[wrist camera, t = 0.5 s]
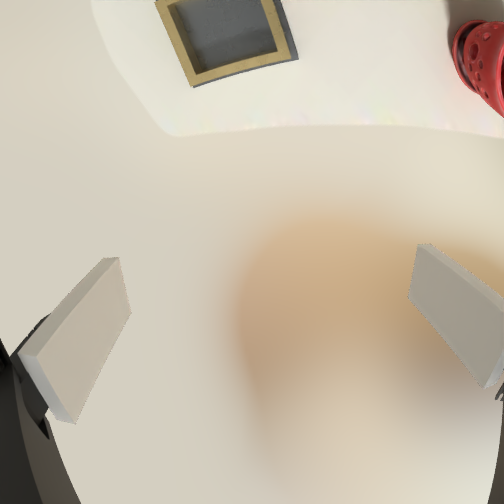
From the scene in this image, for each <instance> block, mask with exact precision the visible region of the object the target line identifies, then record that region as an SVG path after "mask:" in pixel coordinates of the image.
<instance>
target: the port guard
mask: <svg viewBox="0 0 504 504" xmlns="http://www.w3.org/2000/svg"><path fill="white" fill-rule="evenodd" d="M154 3H155V5H156V8H157V10H158V12H159V14H160V17H161V19H162V21H163V24H164V26H165V28H166V31H167V33H168V35H169V38H170V40H171V42H172V45H173V47H174V49H175V52H176V54H177V56H178V59H179V61H180V63H181V66H182V68H183V70H184V73H185V75H186V77H187V80H188V82H189V84H190V87H191V86H193V88H195V87H198V86H201V85H204V84H207V83H210V82H213V81H216V80H219V79H222V78H226V77H229V76H232V75H236V74H239V73H243V72H247V71H250V70H254V69H258V68H262V67H266V66H271V65H275V64H279V63H284V62H289V61H294V60H299V58H298V55H297V52H296V48H295V45H294V42H293V38H292V35H291V32H290V29H289V26H288V23H287V20H286V17H285V14H284V11H283V8H282V5H281V2H280V0H156V2H154Z"/></svg>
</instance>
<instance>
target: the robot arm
mask: <svg viewBox="0 0 504 504" xmlns="http://www.w3.org/2000/svg"><path fill="white" fill-rule="evenodd" d="M408 299H409V300H410V301H411V302H412V303H413V304H414V305H415V306H416V308H417V309H418V310H419V311H420V312H421V313H422V314H423V315H424V317H425V318H426V319H427V320H428V321H429V322H430V324H431V325H432V326H433V327H434V328H435V330H436V331H437V332H438V333H439V334H440V335H441V337H442V338H443V339H444V340H445V342H446V343H447V344H448V345H449V346H450V348H451V349H452V350H453V351H454V353H455V354H456V355H457V356H458V357H459V359H460V360H461V361H462V362H463V364H464V365H465V367H466V368H467V369H468V370H469V372H470V373H471V374H472V376H473V377H474V378H475V380H476V381H477V382H478V384H479V385H480V386H481V388H482V389H485V388H487V387H490V386H492V385H494V384H496V383H497V381H498V379H499V378H500V376H501V374H502V372H503V370H504V298H503V297H502V296H500V295H499V294H498V293H497V292H495V291H494V290H493V289H492V288H490V287H489V286H488V285H487V284H485V283H484V282H483V281H481V280H480V279H479V278H477V277H476V276H475V275H473V274H472V273H471V272H469V271H468V270H467V269H465V268H464V267H463V266H461V265H460V264H459V263H457V262H456V261H454V260H453V259H452V258H450V257H449V256H447V255H446V254H445V253H443V252H442V251H440V250H439V249H437V248H436V247H434V246H433V245H431V244H418V245H417V252H416V258H415V264H414V269H413V275H412V280H411V285H410V290H409V294H408ZM130 314H131V309H130V305H129V302H128V298H127V293H126V289H125V284H124V280H123V275H122V271H121V266H120V261H119V258H118V257H116V258H115V257H114V258H103V259H102V260H101V261H100V262H99V263H98V264H97V265H96V266H95V267H94V268H93V269H92V270H91V271H90V272H89V273H88V274H87V275H86V276H85V277H84V278H83V279H82V280H81V281H80V282H79V283H78V284H77V285H76V287H75V288H74V289H73V290H72V291H71V292H70V293H69V294H68V295H67V296H66V297H65V298H64V299H63V301H62V302H61V303H60V304H59V305H58V306H57V307H56V308H55V309H54V310H53V312H52V313H50V314H49V315H47V316H46V317H44V318H43V319H41V320H40V322H39V323H38V324H37V325H36V326H35V327H34V330H32V331H31V332H30V333H29V334H28V337H26V338H25V339H24V340H23V341H22V342H21V344H20V345H19V346H18V347H17V349H16V350H15V351H14V352H13V353H12V355H11V356H10V357H9V355H8V353H7V351H6V349H5V348H4V345H3V343H2V341H1V339H0V504H81V502H80V501H79V498H78V496H77V494H76V492H75V490H74V488H73V485H72V483H71V481H70V479H69V476H68V474H67V471H66V469H65V467H64V464H63V461H62V459H61V457H60V454H59V451H58V448H57V445H56V442H55V439H54V436H53V433H52V430H51V427H50V424H49V421H48V420H47V418H46V417H45V413H46V412H47V410H48V408H49V409H50V410H51V412H52V413H53V415H54V416H55V418H56V419H57V420H60V421H64V422H68V423H72V424H76V422H77V420H78V417H79V415H80V413H81V411H82V408H83V406H84V404H85V402H86V400H87V398H88V396H89V394H90V392H91V390H92V387H93V385H94V383H95V381H96V379H97V377H98V375H99V373H100V371H101V369H102V367H103V365H104V363H105V361H106V359H107V357H108V355H109V353H110V352H111V349H112V348H113V346H114V344H115V342H116V340H117V338H118V336H119V335H120V333H121V331H122V329H123V327H124V325H125V323H126V322H127V320H128V318H129V316H130ZM502 393H503V397H502V399H501V400H500V401H503V414H502V426H501V436H500V444H499V452H498V458H497V463H496V469H495V474H494V479H493V484H492V488H491V492H490V496H489V500H488V504H504V383H503V385H502V386H501V388H500V389H499V391H498V393H497V394H496V397H495V400H497V399H498V398H499V396H500V394H502Z"/></svg>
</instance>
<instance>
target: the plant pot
mask: <svg viewBox="0 0 504 504" xmlns="http://www.w3.org/2000/svg"><path fill="white" fill-rule="evenodd" d="M452 53H453V60H454V65H455V68H456V70H457V73H458V75H459V77H460V78H461V80H462V81H463V83H464V84H465V85H466V86H467V87H468V88H469V89H470V90H472V91H473V92H475V93H477V94H479V95H480V96H481V97H482V98H483V99H484V100H485V102H486V103H487V104H488V105H490V106H491V107H492V108H493V109H494V110H495V111H496V112H497V113H499V114H500V115H501V116H502V117H503V118H504V22H500V21H494V22H486V21H483V20H472V21H469V22H467V23H465V24H464V25H462V26H461V27H460V29H459V30H458V31H457V33H456V35H455V38H454V41H453V47H452Z"/></svg>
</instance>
